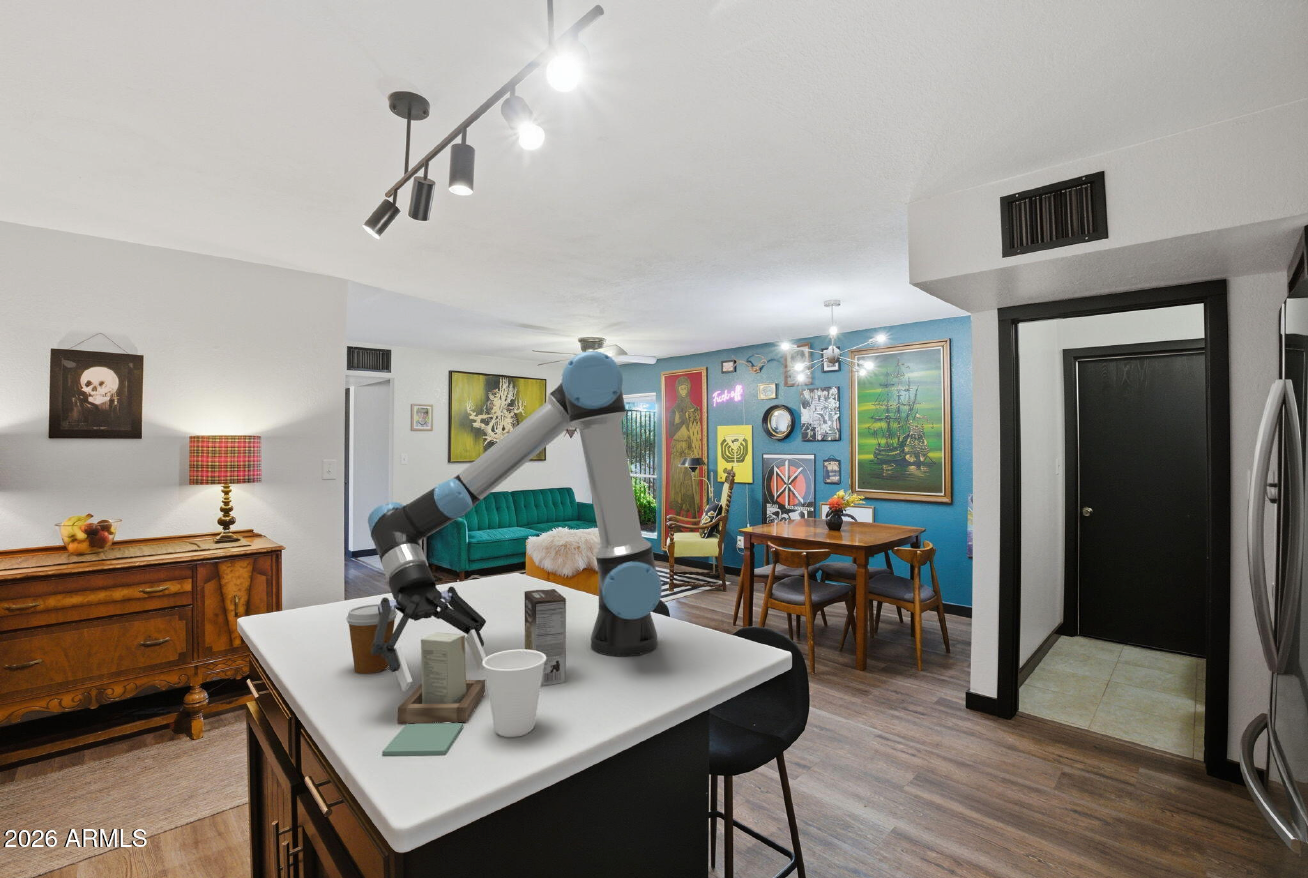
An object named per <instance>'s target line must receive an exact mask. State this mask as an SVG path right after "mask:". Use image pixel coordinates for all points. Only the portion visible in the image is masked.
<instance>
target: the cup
mask: <svg viewBox="0 0 1308 878" xmlns="http://www.w3.org/2000/svg"><path fill="white" fill-rule="evenodd" d="M545 661H546V656H545V654H543V653H541V652H539V651H535V650H526V649H525V648H524V649H523V648H522V649H521V648H520V649H509V650H508V649H507V650H503V651H499V652H495V653H492V654H489V655H488V656H486V658H485V659H484V660H483V662H482V665H483V666H484V667H483V668H484V674H485V682H486V685H487V686H486V687H487V691H488V692H487V693H488V696H489V703H490V704H489V705H490V710H491V715H492V716H491V719H492V723H493V729H494V731H495V733H496V734H497V735H498V736H501V737H504V738H516V737H521V736H525V735H527V734H529V733H530V732H531V731H532V730H533V729H534V728H535V724H536V720H537V719H536V718H537V711H538V705H539V699H540V692H541V687H542V686H541V681H542V675H543V669H544V663H545ZM528 732H529V733H528Z"/></svg>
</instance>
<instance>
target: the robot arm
mask: <svg viewBox="0 0 1308 878" xmlns="http://www.w3.org/2000/svg"><path fill="white" fill-rule="evenodd" d="M561 376H562V377H561V382H560V384H558V386H556V388H554V389H553V390H552V391H551V392H550V393H548V395H547V401H546V402H545V403H544V404H542V405H541V406H540V407H539V408H538V409H536V410H535V411H534V412H533V413H531V414H530V415H529V416H527V418H525V419H524V420H523V421H521V422H520V423H519V424H518V425H517V426H516V427H514V428H513V429H512V430H510V431H509V432H508V433H507V434H505V436H503V437H502V438H501V439H499V440H498V441H497V442H496V443H494V444H493V445H492V446H491V447H490V448H489V449H487V450H485V452H484V453H482V454H481V455H480V456H479V457H478V458H476V460H474V461H472V462H471V463H470V464H469V465H468V466H466V468H464V469H463V470H462V471H460V472H459V473H458V474H457V475H456V476H454V477H453V478H449V479H447V480H445V481H444V482H441V483H439V484H437V485H435V487H433V488H431V489H430V490H428V491H427V492H425V493H423V494H421V495H420V496H418V497H417V498H416V499H414V500H412V501H411V502H409V503H407V504H405V505H404V504H402V503H400V502H397V501H390V502H387V503H386V504H384V503H382V504H379V505H378V506H376V507H375V508H374V509H373V510H372V511H371V512H370V513H369V515H368V517H367V524H368V528H369V532H370V537H371V540H372V541H373V544H374V547H375V549H376V552H377V554H378V558H379V560H380V564H381V565H382V569H383V572H384V574H385V578H386V580H387V582H388V587H389V589H390V592H391V595H392V598H393V599H389V598H388V597H385V596H384V597H382V598H381V600H380V603H378V604H379V606H378V612H379V621H378V625H377V629H376V633H375V637H374V641H373V645H372V649H371V654H372V655H377V654H382V658H384V659H386V660H387V663H388V666H389V667H388V669H389V671H390V672H391V673H394V672H396V677H397V679H398V682H399V685H400V688H401V690H402V692H405V691H408V690H409V688H410V686H411V684H412V683H413V679H412V676H411V673H410V671H409V667H408V666H407V662H406V659H405V656H404V653H403V650H402V647H401V646H396V644H397V643H398V641H399V638H400V637H401V635H402V633H403V631H404V629H405V627H406V625H407V624H408V622H409V619H410V620H413V621H414V622H417V621H420V620H422V619H430V618H432V617H434V618H435V619H437V620H442V621H443V622H445V623H447V624H448V625H450V626H451V627H454V628H455V629H457V630H459V631H460V632H462V633H463V634H464V635H465V634H466V636H465V642H466V644H467V646H468V648H469V650H470V651H469V652H470V654H471V656H472V658H473V660H474V663H475V665H476V668H477V670H478V671H479V670H482V669H483V668H484V666H483V665H482V662H483V660H484V659H485V658H486V657H487V655H486V653H485V651H484V649H483V648H484V646H485V641H484V639H483V637H482V634H481V631H482V629H484V627H485V624H486V623H487V620H486V619H485V618H484V617H483V616H482V615H481V614H480V613H479V612H478V611H476V609H474V608H473V607H472V606H471V605H470V604H468V602H467V601H466V600H465V599H464V598H462V597H461V596H460V595H459V594H458V592H457V589H456V588H455V586H452V585H451V586H449V587H448V589H447V590H443V591H440V590H439V589H438V588H437V585H436V581H435V577H434V575H433V573H432V571H431V568H430V567H429V563H428V560H427V558H426V556H425V553H424V550H423V549H422V545H421V543H420V542H421V541H422V540H424V539H427V538H428V537H429V536H430V535H432V534H434V533H435V532H436V531H439V530H440V529H442V528H444V527H446V526H447V525H449V524H450V523H453V522H454V521H456V520H458V519H461V518H462V517H464V516H465V515H467V514H468V512H470V511H471V509H472V508H474V506H476V505H477V504H479V502H480V501H481V500H483V499H484V498H485V497H486V496H488V495H489V494H490V493H491V492H492V491H494V490H495V489H496V488H497V487H498V486H500V485H501V484H502V483H503V482H504V481H506V480H507V479H508V478H509V477H511V476H512V475H513V474H515V473H516V472H517V471H518V470H520V468H522V467H523V466H524V465H526V463H528V462H529V461H530V460H531V459H533V458H534V457H535V456H536V455H537V454H539V452H541V451H542V450H543V449H545V448H546V447H547V446H549V444H551V443H552V442H553V441H554V440H555V439H557V438H558V437H559V436H560V435H562V434H563V433H565V431H566V430H568V429H569V428H576V429H577V430H578V431H579V436H580V440H581V441H580V442H581V446H582V447H581V448H582V452H583V455H584V456H583V457H584V462H585V468H586V472H587V478H588V482H589V484H588V485H589V487H590V493H591V494H590V495H591V500H592V504H593V510H594V514H595V519H596V525H597V531H598V535H599V541H600V546H599V548H598V550H597V551H596V553H595V560H596V566H597V571H598V572H597V573H598V613H597V616H596V620H595V622H594V625H593V629H592V632H591V635H590V648H591V649H592V650H593V651H594V652H597V653H599V654H603V655H608V656H615V657H616V656H617V657H618V656H620V657H622V656H623V657H624V656H625V657H627V656H637V655H643V654H646V653H650V652H652V651H654V650H655V649H657V648H658V643H659V642H658V640H659V639H658V637H659V636H658V632H657V629H656V627H655V623H654V619H653V617H652V614H651V612H653V610H654V609H655V608H656V607H657V606H658V604H659V602H660V600H661V596H662V591H663V590H662V589H663V587H662V586H663V585H662V579H661V577H660V576H659V573H658V571H657V568H656V564H655V558H654V552H653V546H652V542H650V541H648V540H647V539H645V538H644V537H643V535H642V529H641V524H640V519H639V518H640V517H639V513H638V508H637V502H636V496H635V493H634V492H635V491H634V487H633V481H632V475H631V471H630V466H629V465H630V464H629V461H628V460H629V459H628V456H627V455H628V454H627V450H626V446H625V439H624V433H623V430H622V429H623V427H622V421H623V420H624V418H625V416H626V415H627V410H626V405H625V400H624V394H623V389H622V388H623V375H622V371H621V369H620V367H619V365H618V363H617V362H616V361H615V360H614V359H613V358H612V357H611V356H610V355H608V354H606V353H604V352H601V351H595V350H589V351H588V350H587V351H583V352H581V353H579V354H575V356H573V357H572V358H571V359H569V361H568V362H567V363H566V365H565V367H564V368H563V371H562V375H561ZM393 608H395V609H396V611H397V612H400V613H401V614H402V617H401V618H400V620H399V622H398V623H397V625H396V628H394V630H393V635H392V636H391V638H390V640H389V642H388V643H383V641H384V637H385V633H386V628H387V624H388V620H389V615H390V613H391V612H392V610H393ZM438 608H439V610H438Z"/></svg>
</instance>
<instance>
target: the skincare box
mask: <svg viewBox="0 0 1308 878" xmlns="http://www.w3.org/2000/svg"><path fill="white" fill-rule="evenodd" d="M465 638H466V635H465V634H462V633H461V634H459V633H447V632H435V633H432V634H430V635H427V636H425V637H423V638H420V649H421V651H420V652H421V653H420V656H421V660H420V661H421V663H420V664H421V683H422V704H460V702H461V701H462V699H463V698H464V697H465V695H466V680H467V666H466V665H467V664H466V663H467V660H466V639H465Z"/></svg>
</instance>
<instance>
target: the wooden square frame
mask: <svg viewBox="0 0 1308 878" xmlns="http://www.w3.org/2000/svg"><path fill="white" fill-rule="evenodd" d="M484 693H485V694H486V679H466V695H465V697H464V698H463V699H462V701H461V702H460V704H422V682H421V683H420V684H419V685H418V686H417V687H416V688H415V690H413V691H412V692H411V694H410V695H409V696H408V697H407V698H406V699H405V700H404V701H402V703H401V704H400V705H399V706H398V707H397V721H396V722H397V724H399V725H403V724H404V723H405V724H404V725H406V723H407V724H408V723H415V724H437V722H438V723H439V722H440V723H441V722H466V721H467V720H468V721H469V719H470V718H471V716H472V714H473V713H474V711H475V710H476V708H477V707H478V705H479V704H478V703H480V702H481V701H482V699H483V698H484V696H485V695H484ZM483 695H484V696H483ZM482 697H483V698H482ZM481 698H482V699H481ZM480 700H481V701H480ZM479 701H480V702H479ZM477 704H478V705H477ZM476 706H477V707H476ZM474 709H475V710H474ZM472 712H473V713H472ZM469 717H470V718H469ZM468 718H469V719H468ZM468 721H467V722H468ZM435 722H436V723H435ZM467 722H466V723H467Z"/></svg>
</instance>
